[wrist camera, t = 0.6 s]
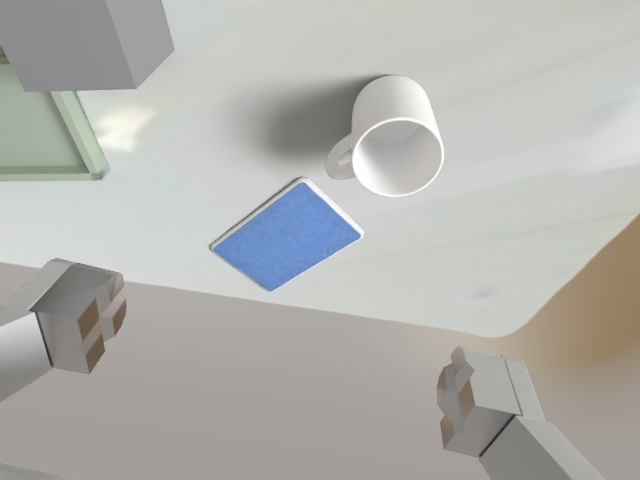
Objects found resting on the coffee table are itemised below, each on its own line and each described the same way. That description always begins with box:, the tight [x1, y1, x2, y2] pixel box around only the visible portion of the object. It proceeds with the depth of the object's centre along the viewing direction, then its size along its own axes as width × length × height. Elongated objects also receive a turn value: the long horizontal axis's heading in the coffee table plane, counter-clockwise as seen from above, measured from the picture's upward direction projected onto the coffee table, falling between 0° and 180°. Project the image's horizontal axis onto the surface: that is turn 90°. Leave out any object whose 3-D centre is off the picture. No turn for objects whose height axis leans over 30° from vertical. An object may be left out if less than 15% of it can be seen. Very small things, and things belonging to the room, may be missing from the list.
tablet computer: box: [211, 177, 364, 292], centre depth 59 cm, size 19×13×1 cm, turn 133°
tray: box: [0, 56, 110, 181], centre depth 48 cm, size 14×18×2 cm
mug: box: [325, 75, 444, 197], centre depth 43 cm, size 12×8×10 cm
